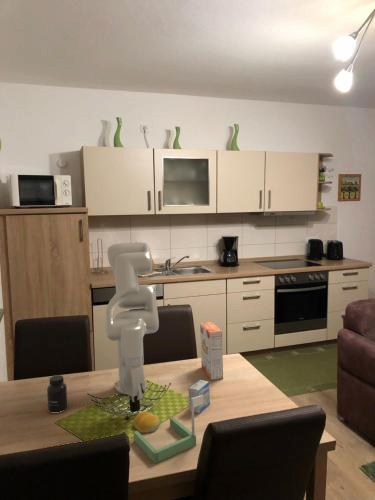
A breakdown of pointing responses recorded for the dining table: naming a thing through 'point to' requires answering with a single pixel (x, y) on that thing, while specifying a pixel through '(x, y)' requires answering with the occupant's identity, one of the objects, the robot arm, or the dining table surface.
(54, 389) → the supplement bottle
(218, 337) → the cracker box
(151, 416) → the bread roll
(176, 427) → the green u-shaped frame
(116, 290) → the robot arm
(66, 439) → the dining table surface
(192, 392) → the medicine box
